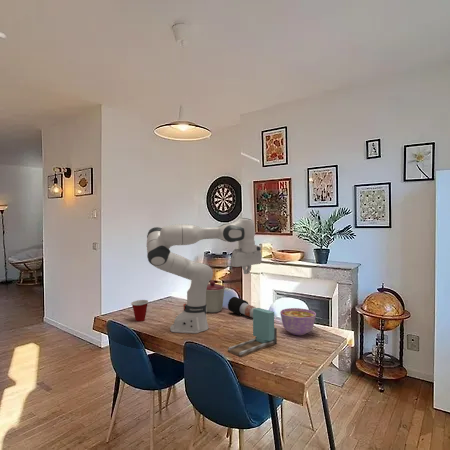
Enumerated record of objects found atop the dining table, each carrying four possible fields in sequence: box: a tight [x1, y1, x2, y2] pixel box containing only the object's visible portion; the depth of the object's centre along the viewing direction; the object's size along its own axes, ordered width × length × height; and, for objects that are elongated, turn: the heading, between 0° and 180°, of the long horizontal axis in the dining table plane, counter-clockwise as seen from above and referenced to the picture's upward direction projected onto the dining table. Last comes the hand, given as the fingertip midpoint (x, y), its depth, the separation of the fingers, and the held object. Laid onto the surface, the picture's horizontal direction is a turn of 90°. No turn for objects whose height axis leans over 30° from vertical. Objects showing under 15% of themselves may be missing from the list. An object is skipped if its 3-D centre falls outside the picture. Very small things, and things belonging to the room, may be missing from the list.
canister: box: [206, 280, 226, 314], centre depth 237 cm, size 18×18×21 cm
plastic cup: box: [130, 299, 149, 322], centre depth 214 cm, size 11×11×12 cm
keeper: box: [252, 307, 275, 343], centre depth 174 cm, size 5×11×16 cm, turn 42°
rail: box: [227, 327, 278, 358], centre depth 169 cm, size 26×9×8 cm, turn 132°
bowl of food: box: [279, 307, 317, 336], centre depth 190 cm, size 20×20×12 cm
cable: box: [227, 296, 257, 319], centre depth 221 cm, size 10×34×10 cm, turn 42°
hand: (246, 273), depth 181 cm, fingers closed
